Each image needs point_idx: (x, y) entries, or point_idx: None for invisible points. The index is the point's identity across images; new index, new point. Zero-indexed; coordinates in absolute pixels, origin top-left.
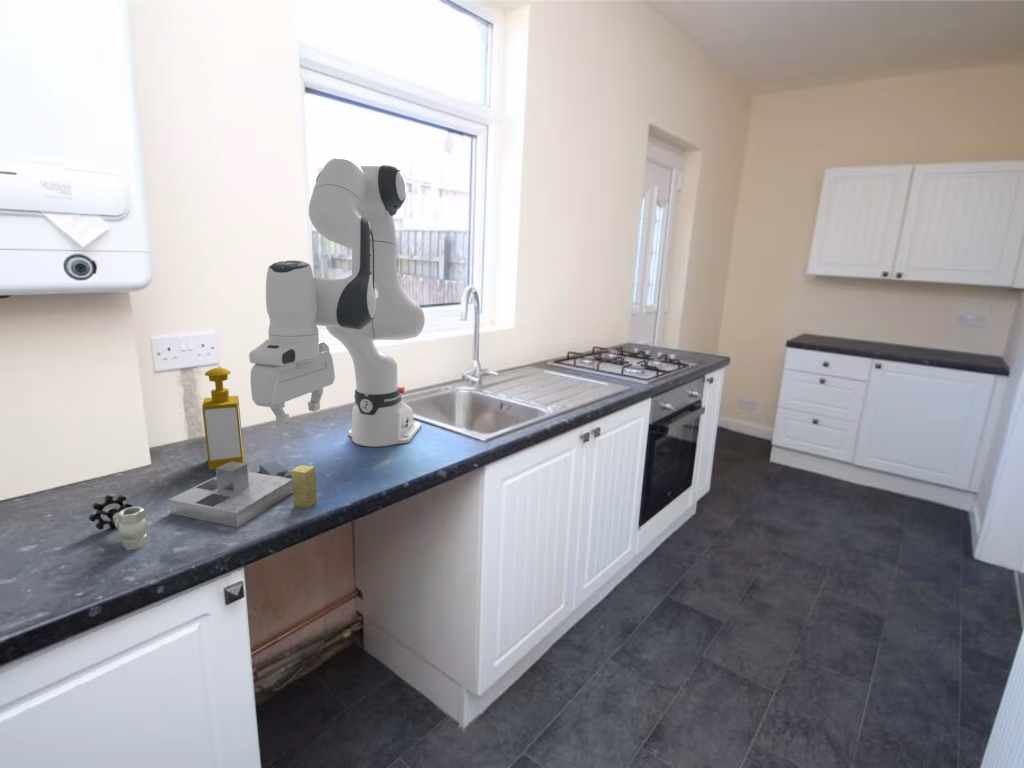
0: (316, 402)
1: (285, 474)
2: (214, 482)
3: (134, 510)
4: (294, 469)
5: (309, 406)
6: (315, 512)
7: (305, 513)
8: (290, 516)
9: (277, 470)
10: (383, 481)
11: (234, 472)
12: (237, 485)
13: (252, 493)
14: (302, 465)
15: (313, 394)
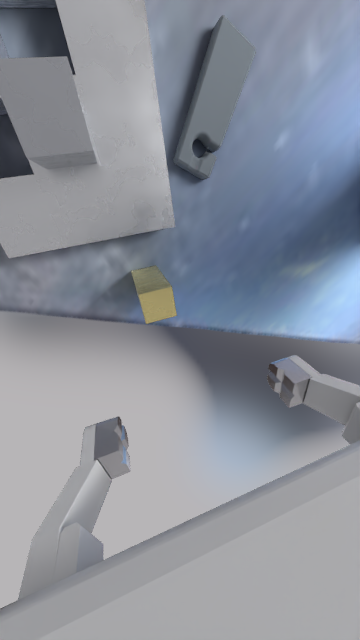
0: (300, 402)
1: (203, 161)
2: None
3: None
4: (146, 295)
5: (282, 374)
6: (137, 310)
7: (127, 302)
8: (107, 292)
9: (212, 118)
10: (249, 311)
11: (39, 158)
12: (57, 164)
13: (81, 208)
14: (170, 291)
15: (348, 400)
